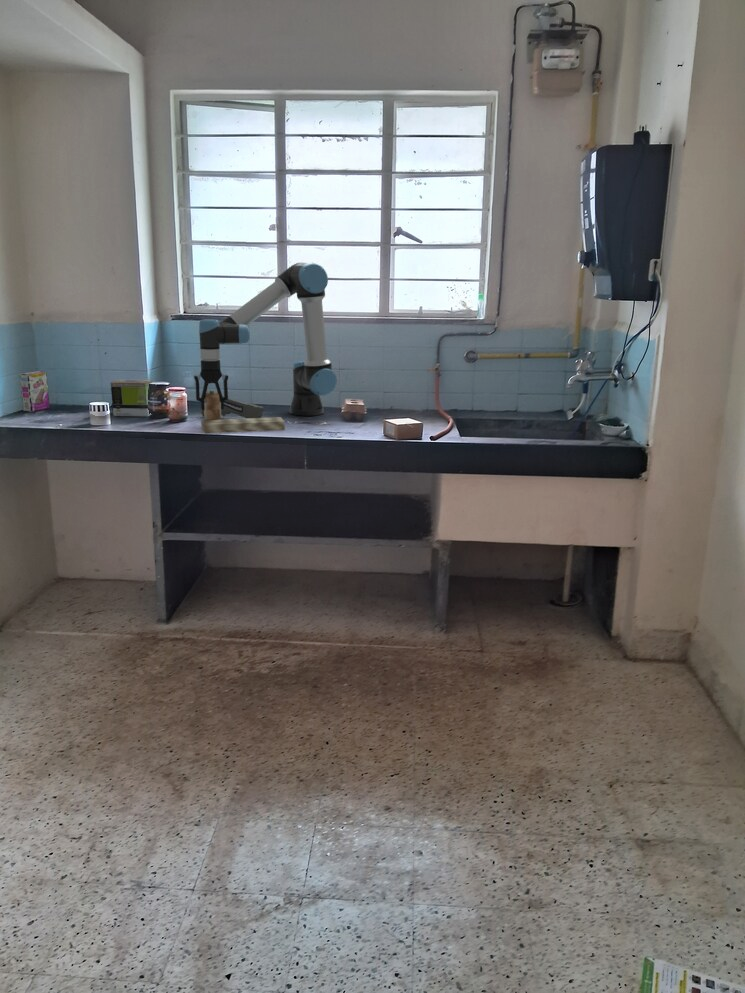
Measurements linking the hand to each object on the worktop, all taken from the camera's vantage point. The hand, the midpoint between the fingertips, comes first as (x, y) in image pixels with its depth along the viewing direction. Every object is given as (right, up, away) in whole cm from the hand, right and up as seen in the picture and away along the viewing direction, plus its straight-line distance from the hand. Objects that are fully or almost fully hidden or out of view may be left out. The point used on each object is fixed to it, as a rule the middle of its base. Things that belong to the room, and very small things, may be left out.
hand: (212, 417), depth 295 cm
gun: (+5, +1, +18) cm, 19 cm away
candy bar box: (-83, +6, +26) cm, 87 cm away
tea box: (-39, +3, +21) cm, 44 cm away
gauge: (+1, -2, -3) cm, 4 cm away
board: (+13, -5, -3) cm, 14 cm away
